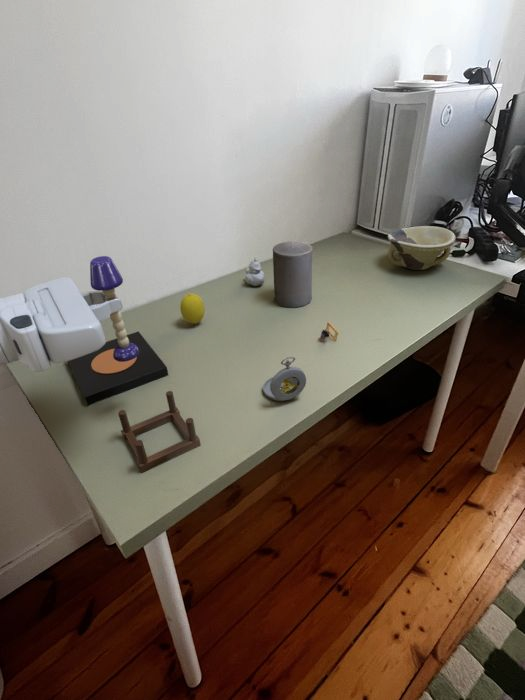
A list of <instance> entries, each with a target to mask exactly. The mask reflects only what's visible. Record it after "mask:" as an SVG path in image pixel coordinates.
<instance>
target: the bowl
mask: <svg viewBox="0 0 525 700" xmlns="http://www.w3.org/2000/svg"><path fill="white" fill-rule="evenodd" d="M456 237H457V236H456V235H455V233H454V232H453V231H451V230H449V229H447V228H445V227H440V226H433V225H432V226H431V225H420V226H419V225H418V226H410V227H402V228H398V229H396V230H393V231H391V232H390V233H388V235H387V239H388V242H389V243H390V245H389V248H388V250H387V259H388V260H389V262H390V263H392V264H394V265H396V266H399V267H403V268H405V269H408V270H411V271H421V270H422V271H423V270H427V269H430V268H431V267H433V266H437V265H439V264H441V263H443V262H444V261H446V260H447V259H448V258H449V256H450V255H451V246H453V245H454V243H455V241H456V239H457V238H456ZM396 251H397V253H398V254H399V258H395V257H394V254H395V252H396Z"/></svg>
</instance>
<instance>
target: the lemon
mask: <svg viewBox="0 0 525 700" xmlns="http://www.w3.org/2000/svg"><path fill="white" fill-rule="evenodd" d="M179 309H180V315H181V316H182V318H183V320H184V321H186V322H187V323H189V324H193V325H196V324H197V323H199V322H201V321H202V320H203V319H204V317H205V311H206V310H205V309H206V308H205V304H204V302H203V300H202V298H201V297H200V296H199V295H197V294H195V293H191V292H190V293H187V294H186V295H184V296H183V297H182V299H181V301H180V307H179Z"/></svg>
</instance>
